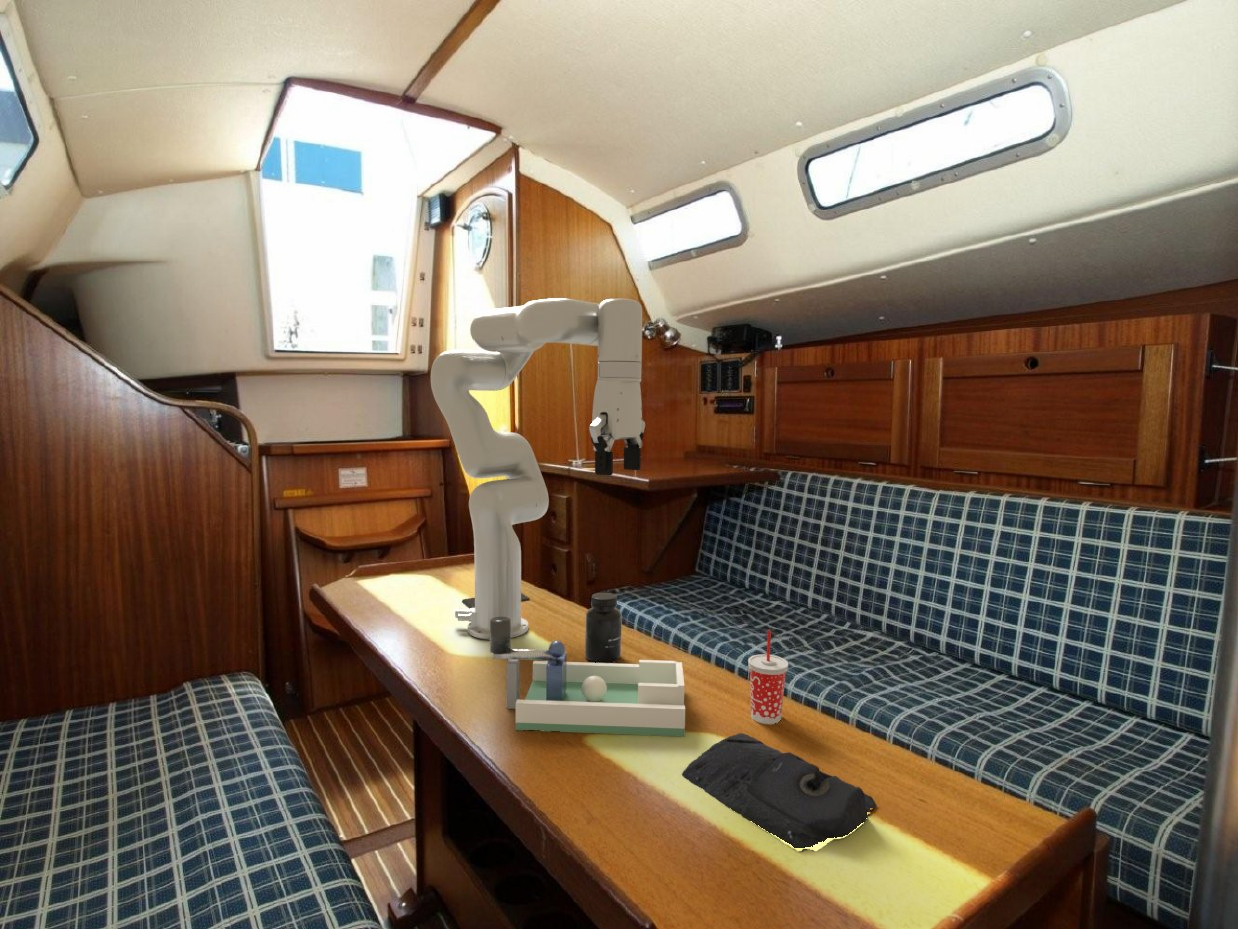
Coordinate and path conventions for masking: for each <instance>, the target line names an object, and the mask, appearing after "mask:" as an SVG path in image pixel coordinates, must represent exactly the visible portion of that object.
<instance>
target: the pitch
mask: <svg viewBox="0 0 1238 929" xmlns="http://www.w3.org/2000/svg"><path fill="white" fill-rule="evenodd" d="M507 660H508V661H507V662H506V667H505V668H506V672H505V673H506V682H505V683H506V689H505V690H506V693H505V694H506V709H508V710H509V709H510V710H511V709H512V710H514V709H515V731H523V730H540V731H539V732H551V731H560V732H559V733H577V734H578V733H582V734H608V735H609V734H610V735H611V734H612V735H635V736H637V735H638V736H662V737H666V736H667V737H685V736H686V734H685V732H686V705H685V678H684V670H683V662H681V661H680V662H678V661H676V660H658V659H657V660H656V659H655V660H654V659H638V663H616V662H612V663H595V662H586V661H585V662H582V661H581V662H579V661H578V662H577V661H567V673H566V692H565V696H564V699H563V701H546V665H547V663H548V660H533V662H532V682H531V683H530V686H529V689H528V691H527V694H526V696H525V698H524V699H520V659H507ZM590 676H599V677H601V678H602V679H603V680H604V681H605V683H606V686H607V692H606V695H605V696H604V698H603V699H602V700H600V701H598V702H590V701H588V700H587V699H585V697H584V696H583V694H582V684H583V682H584V681H585V679H587V678H588V677H590ZM543 730H544V731H543Z"/></svg>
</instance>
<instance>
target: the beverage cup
mask: <svg viewBox="0 0 1238 929" xmlns="http://www.w3.org/2000/svg"><path fill="white" fill-rule="evenodd" d="M771 634H772V631H771V629H767V642H766V654H755V655H751V656H750V657H748V659H747V661H748V663H747V664H748V665H747V666H748V668H749V684H750V685H749V687H750V688H749V689H750V693H749V694H750V717H751V719H752V720H753V721H755V722H757V723H759V724H763V725H776V724H779V723H780V722H781V721H780V720H782V712H783V702H784V695H785V694H784V692H785V684H786V676H787V675H786V674H787V672H788V670H789V662H788V660H786V659H784V658H782V657H780V656H778V655H772V654H771V638H772V637H771V636H772V635H771ZM779 721H780V722H779ZM778 722H779V723H778ZM775 723H776V724H775Z"/></svg>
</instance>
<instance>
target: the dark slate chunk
mask: <svg viewBox="0 0 1238 929" xmlns="http://www.w3.org/2000/svg"><path fill="white" fill-rule="evenodd" d="M681 775H682V777H683V778H684V779H686V780H687V781H688V782H690V783H691V784H693V785H694V786H697V787H699V788H700V789H701V790H703V791H704V792H705V793H707V794H708V795H709V796H711V797H712V798H714V799H715V800H717V801H718V802H719V803H721V804H722V805H724V806H725V807H726V808H728V809H730V808H731V809H730V810H731V811H732V812H734V811H735V812H734V813H736V814H738V815H740V816H741V817H742V818H743V819H746V820H747V821H749V822H750V821H752V822H753V823H755V824H756V825H757V826H756V825H755V824H754V825H755V826H756V827H758V825H759V826H760V827H761V828H763V829H765V830H766V831H768V832H769V833H772V834H773V835H776V836H777V837H779V838H780V839H782V840H784V841H785V842H787V843H789V844H791V845H792V846H793V847H794V848H805V847H811V846H812V847H813V845H815V844H818V842H822V841H823V842H824V841H825V840H826V839H827V838H834V837H835V838H837V837H843V836H845V835H848V834H849V833H850V832H852V831H853V830H854V829H856V828H857V826H859V825H860V824H861V823H863V822H865V823H866V820H867V819H866V818H868V819H869V817H868V816H869V815H868V816H867V812H871V811H870V808H874V809H875V808H877V804H876V802H875V799H874V798H873V797H872V796H871V795H868V794H866V793H865V792H864V791H863V788H861V787H860V786H854V785H853V784H851V783H848V782H846V781H844V780H842V779H841V778H839V777H838V776H837V775H831V774H829V773H825V772H823V771H821V770H820V768H819V766H817V765H815V764H813V763H810V762H808V761H807V760H805V759H803V758H802V757H800V756H798V755H796V754H794V753H792V752H790V751H789V752H781V751H780V750H779V749H776V748H773V747H771V746H769V745H766V744H764V742H762V741H761V740H758V739H757V738H755V737H753V736H750V735H748V734H746V733H743V732H741V733H740V732H739V733H737V734H733V735H730V736H728V737H725V738H724V739H721V740H720V741H718V742H715V743H714V744H713V745H711V746H710V747H709V748H708V749H706V751H704V752H702V753H701V755H698V756H697V758H695V759H693V760H692V761H691V762H690V763H689V764H688V765H687V767H686V768H685V769H684V770H683V771H682V773H681ZM753 823H752V824H753ZM760 827H759V828H760ZM761 828H760V829H761ZM766 831H765V832H766ZM768 832H767V833H768ZM769 833H768V834H769Z"/></svg>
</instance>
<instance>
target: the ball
mask: <svg viewBox="0 0 1238 929" xmlns="http://www.w3.org/2000/svg"><path fill="white" fill-rule="evenodd" d="M606 692H607V686H606V683H605V681H604V680H603V679H602V678H601V677H599V676H590V677H588V678H587V679H585V681H584V682H583V684H582V694H583V696H584V697H585V699H587V700H588V701H590V702H598V701H600V700H602V699H603V698H604V696H605V695H606Z"/></svg>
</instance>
